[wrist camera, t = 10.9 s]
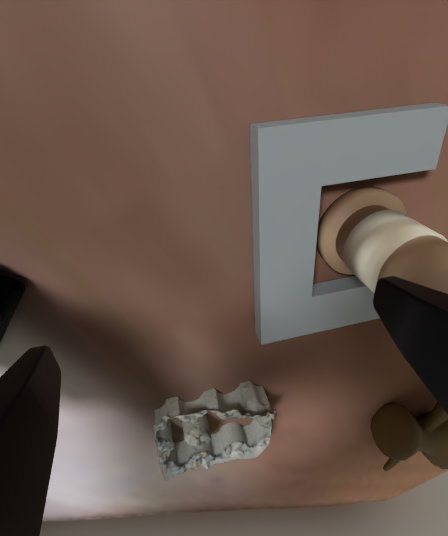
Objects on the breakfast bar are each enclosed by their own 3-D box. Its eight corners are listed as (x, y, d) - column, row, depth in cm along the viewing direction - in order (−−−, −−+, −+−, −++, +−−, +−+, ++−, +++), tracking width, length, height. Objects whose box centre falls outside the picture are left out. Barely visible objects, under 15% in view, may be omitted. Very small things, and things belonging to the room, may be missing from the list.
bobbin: (354, 278, 27) (497, 416, 17) (298, 245, 24) (428, 387, 14) (411, 212, 25) (617, 322, 14) (358, 168, 22) (565, 265, 12)
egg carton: (266, 373, 31) (283, 411, 28) (260, 423, 35) (275, 462, 32) (150, 394, 29) (152, 438, 26) (157, 445, 33) (160, 489, 29)
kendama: (505, 337, 38) (394, 450, 45) (453, 316, 34) (342, 442, 41) (562, 377, 33) (427, 498, 40) (509, 357, 29) (371, 494, 36)
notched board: (255, 332, 28) (261, 344, 26) (249, 123, 19) (258, 128, 18) (385, 303, 30) (396, 314, 28) (433, 102, 21) (452, 105, 20)
